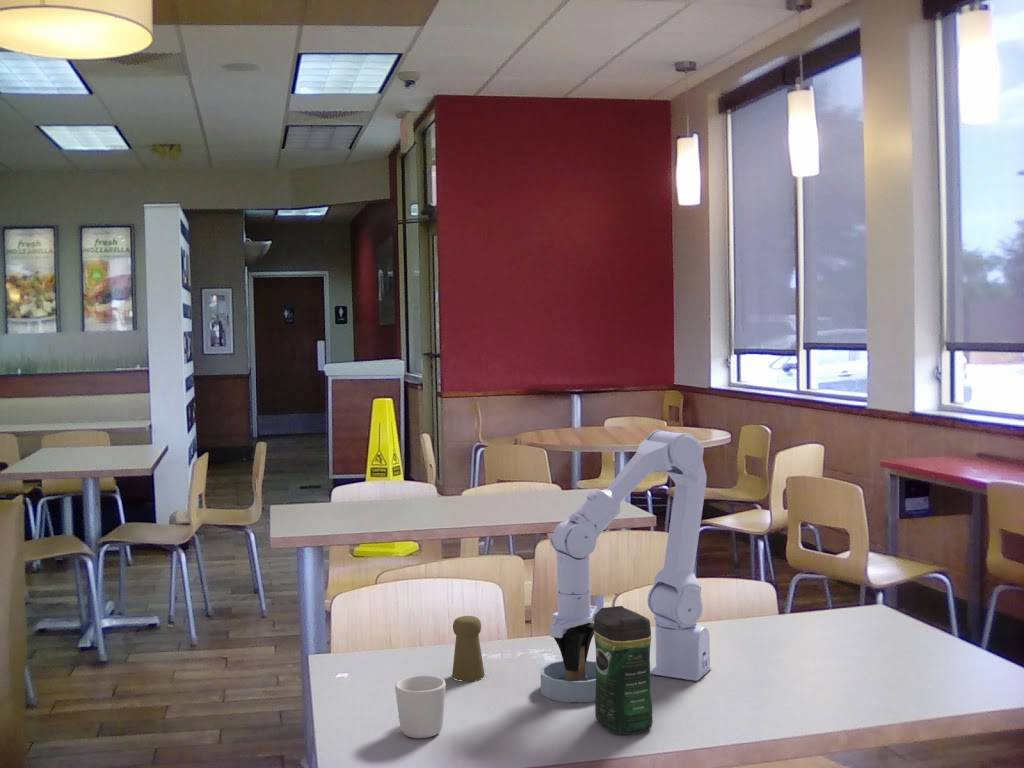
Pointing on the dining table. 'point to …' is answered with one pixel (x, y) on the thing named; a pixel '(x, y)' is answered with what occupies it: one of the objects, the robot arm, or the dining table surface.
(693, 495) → the robot arm
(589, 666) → the pale blue round tray
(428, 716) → the cup
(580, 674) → the long wooden beam
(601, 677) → the coffee jar
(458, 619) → the cork
